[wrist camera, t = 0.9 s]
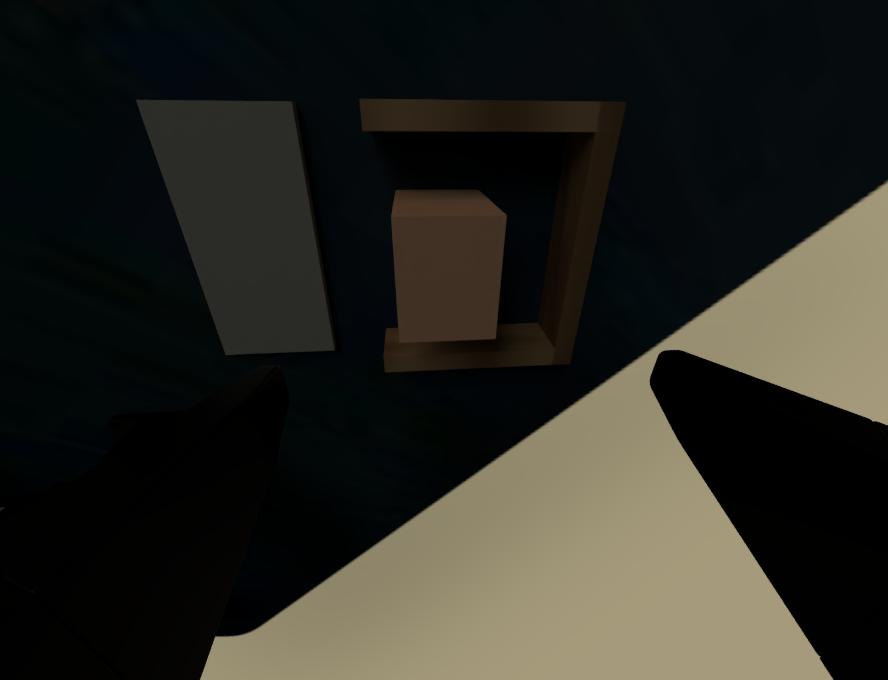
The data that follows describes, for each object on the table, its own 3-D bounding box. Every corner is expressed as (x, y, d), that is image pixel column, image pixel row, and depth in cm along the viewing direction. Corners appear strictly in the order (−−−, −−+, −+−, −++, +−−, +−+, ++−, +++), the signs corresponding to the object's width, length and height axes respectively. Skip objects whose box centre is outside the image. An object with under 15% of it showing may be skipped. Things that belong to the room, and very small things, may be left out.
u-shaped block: (387, 343, 22) (384, 372, 19) (367, 103, 16) (359, 98, 13) (551, 336, 23) (569, 363, 20) (592, 105, 16) (626, 101, 14)
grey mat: (230, 349, 21) (225, 354, 21) (145, 101, 15) (135, 100, 14) (336, 345, 22) (334, 350, 21) (295, 102, 15) (291, 101, 15)
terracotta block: (401, 286, 20) (399, 342, 15) (396, 190, 18) (391, 217, 12) (473, 285, 20) (495, 338, 15) (478, 189, 18) (506, 215, 13)
